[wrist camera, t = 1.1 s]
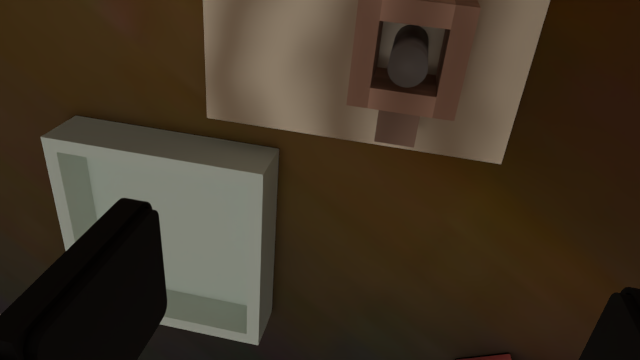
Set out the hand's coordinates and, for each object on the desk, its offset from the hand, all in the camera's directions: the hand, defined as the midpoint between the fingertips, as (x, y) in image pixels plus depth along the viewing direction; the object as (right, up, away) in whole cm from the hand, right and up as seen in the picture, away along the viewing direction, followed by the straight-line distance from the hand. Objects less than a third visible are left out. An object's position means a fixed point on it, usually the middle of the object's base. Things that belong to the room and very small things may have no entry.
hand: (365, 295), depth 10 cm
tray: (-12, -1, +30) cm, 33 cm away
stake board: (+2, +12, +20) cm, 23 cm away
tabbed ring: (+4, +10, +20) cm, 22 cm away
